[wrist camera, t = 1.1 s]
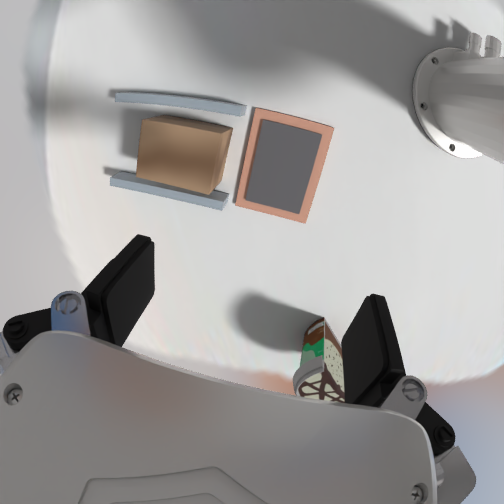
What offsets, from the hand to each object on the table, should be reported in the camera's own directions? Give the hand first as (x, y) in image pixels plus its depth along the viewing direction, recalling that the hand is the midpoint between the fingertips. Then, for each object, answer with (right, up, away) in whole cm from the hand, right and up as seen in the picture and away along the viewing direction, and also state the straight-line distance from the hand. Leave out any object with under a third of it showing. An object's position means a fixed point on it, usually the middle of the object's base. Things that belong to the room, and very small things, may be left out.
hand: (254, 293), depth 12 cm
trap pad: (+3, +11, +17) cm, 20 cm away
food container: (+10, -12, +30) cm, 34 cm away
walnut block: (-7, +13, +18) cm, 23 cm away
